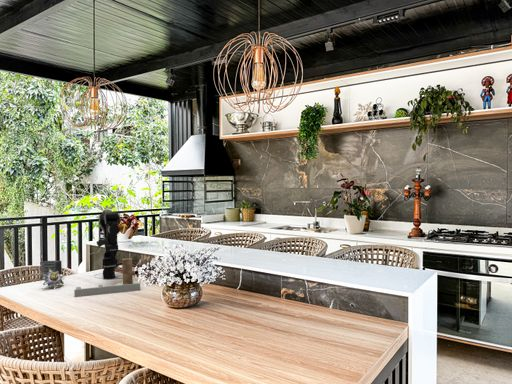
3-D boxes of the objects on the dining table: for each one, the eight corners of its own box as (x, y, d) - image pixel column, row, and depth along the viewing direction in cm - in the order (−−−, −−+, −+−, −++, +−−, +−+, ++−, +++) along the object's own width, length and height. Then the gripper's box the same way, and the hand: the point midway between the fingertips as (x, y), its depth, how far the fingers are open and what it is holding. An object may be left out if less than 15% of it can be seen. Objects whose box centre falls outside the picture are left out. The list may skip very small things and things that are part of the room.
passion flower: (55, 298, 218) (44, 283, 211) (43, 292, 223) (32, 278, 216) (71, 283, 225) (61, 269, 218) (59, 278, 230) (50, 263, 223)
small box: (62, 276, 248) (62, 260, 248) (56, 279, 241) (55, 262, 241) (46, 276, 249) (46, 260, 249) (40, 279, 242) (39, 262, 242)
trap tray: (138, 284, 222) (138, 278, 222) (140, 290, 210) (140, 283, 210) (76, 290, 211) (76, 284, 211) (74, 296, 199) (74, 290, 199)
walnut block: (132, 283, 218) (131, 257, 217) (132, 285, 213) (132, 259, 213) (122, 284, 216) (122, 258, 216) (123, 286, 211) (122, 260, 211)
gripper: (97, 232, 234) (98, 258, 234) (96, 235, 217) (97, 264, 217) (117, 231, 238) (117, 257, 238) (118, 234, 221) (118, 262, 221)
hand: (112, 260), depth 229 cm, fingers open, 9 cm apart
